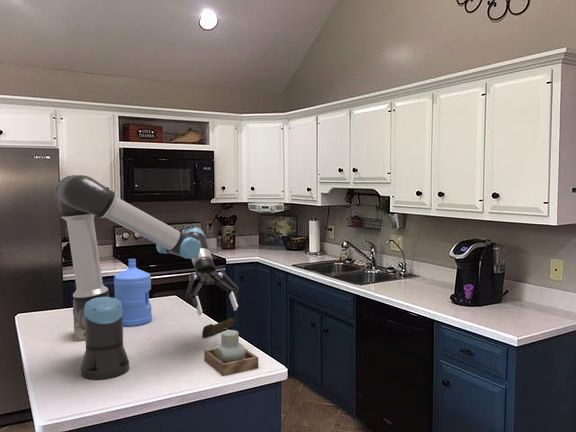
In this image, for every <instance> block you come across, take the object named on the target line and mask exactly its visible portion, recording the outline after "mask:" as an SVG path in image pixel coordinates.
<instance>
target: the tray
mask: <svg viewBox="0 0 576 432" xmlns="http://www.w3.org/2000/svg"><path fill="white" fill-rule="evenodd" d="M215 348H216V347H215ZM215 348H210V349H204V351H203V352H204V353H203V356H204V357H203V358H204V359H203V360H204V361H205V362H206V363H207V364H208V365H209V366H210V367H212V368H213V369H214V370H215V371H217V372H218V373H219V374H220V375H221V376H223V377H224V376H228V375H230V374H231V375H233V374H236V373H241V372H245V371H249V370H254V369H255V370H256V369H259V357H258V356H257V355H256V354H254V353H252V352H251V351H250V350H248V349H246V348H245V351H246V355H245V357H244V358H243V359H242V360H238V361H233V362H229V363H223V362H222V361H220V360H219V359H218V358H217V357H216V356H215Z"/></svg>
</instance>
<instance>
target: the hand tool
mask: <svg viewBox="0 0 576 432" xmlns="http://www.w3.org/2000/svg"><path fill="white" fill-rule="evenodd" d="M235 327H236V320H235V318H233V317H229V318H228V319H225V320H221V321H220V322H218V323H215V324H212V323H209V324H207V325H205V326H203V329H202V335H201V337H202V338H203V339H204V338H209V337H213V336H214V335H215V334H217V333H218V332H223V331H225V330H228V329H230V328H235Z"/></svg>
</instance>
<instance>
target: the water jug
mask: <svg viewBox="0 0 576 432" xmlns="http://www.w3.org/2000/svg"><path fill="white" fill-rule="evenodd" d="M127 260H128V263H127V264H128V268H126V269H125V270H123V271H121V272H119V273H118V274H115V275H114V278H113V285H114V298H116V299H118V300H119V301H120V302H121V304H122V309H123V327H136V326H137V327H138V326H141V325H142V326H143V325H145V324H148V323H150V322H152V320H153V315H152V303H151V302H150V299H149V298H150V293H149V291H150V290H152V279H151V278H152V277H151V274H150V273H149V272H147V271H144V270H141V269H139V268H138V267H137V261H136V260H137V259H136V258H128V259H127Z"/></svg>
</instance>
